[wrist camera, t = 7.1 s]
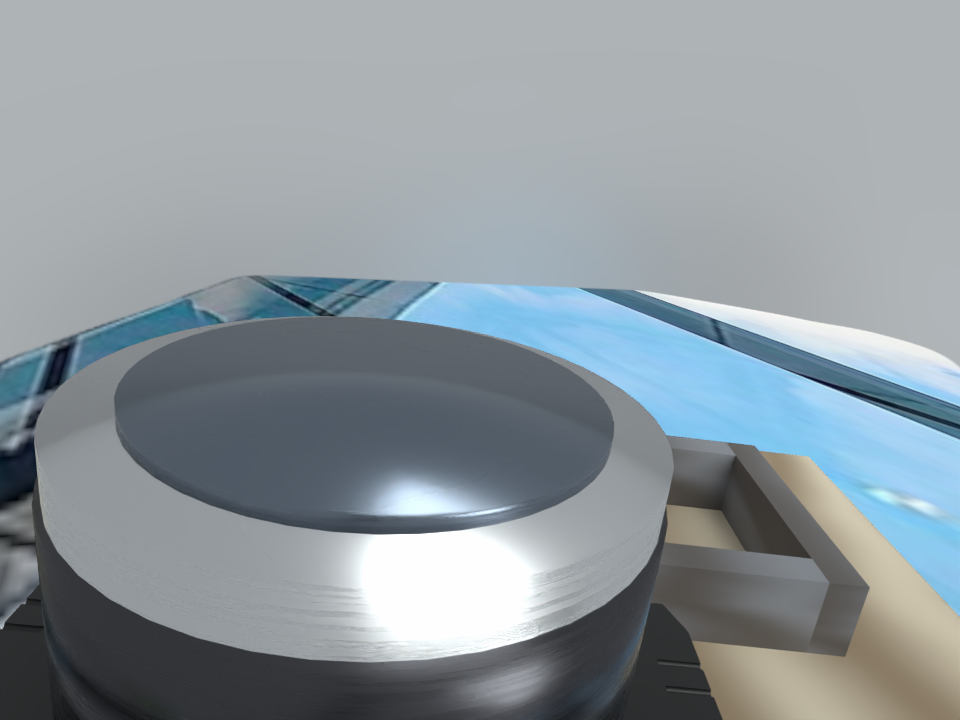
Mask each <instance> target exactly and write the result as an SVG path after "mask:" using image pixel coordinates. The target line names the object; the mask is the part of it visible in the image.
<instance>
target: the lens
mask: <svg viewBox="0 0 960 720" xmlns="http://www.w3.org/2000/svg"><path fill="white" fill-rule="evenodd" d="M34 443H35V453H36V464H37V475H38V476H37V479H36V481H35V486H34V493H33V500H32V511H33V521H34V531H35V541H36V552H37V562H38V572H39V582H40V592H41V603H42V613H43V623H44V633H45V643H46V654H47V664H48V674H49V684H50V694H51V705H52V715H53V720H624V716H625V712H626V708H627V703H628V699H629V695H630V690H631V686H632V682H633V677H634V673H635V669H636V664H637V660H638V656H639V651H640V647H641V643H642V638H643V634H644V630H645V625H646V621H647V617H648V612H649V608H650V604H651V599H652V595H653V591H654V586H655V582H656V578H657V573H658V569H659V564H660V560H661V556H662V551H663V547H664V542H665V537H666V531H667V526H668V521H667V509H666V503H667V499H668V494H669V490H670V485H671V480H672V475H673V470H674V463H673V455H672V449H671V447H670V444H669V442H668V439H667V437H666V434H665V433H664V431H663V430H662V428H661V427H660V425H659V424H658V423H657V421H656V420H655V418H654V417H653V416H652V415H651V414H650V413H649V412H648V411H647V410H646V409H645V408H644V407H643V406H642V405H641V404H640V403H639V402H637V401H636V400H635V399H634V398H632V397H631V396H630V395H628V394H627V393H626V392H625V391H623V390H622V389H620V388H619V387H617V386H615V385H614V384H612V383H611V382H609V381H607V380H606V379H604V378H602V377H600V376H599V375H597V374H595V373H593V372H591V371H589V370H587V369H585V368H583V367H581V366H579V365H576V364H574V363H572V362H569V361H567V360H565V359H562V358H560V357H557V356H555V355H552V354H549V353H546V352H544V351H541V350H538V349H535V348H532V347H529V346H526V345H522V344H519V343H516V342H513V341H509V340H505V339H501V338H497V337H493V336H489V335H485V334H481V333H476V332H471V331H466V330H462V329H456V328H450V327H444V326H439V325H433V324H425V323H417V322H410V321H401V320H390V319H379V318H362V317H331V316H312V317H282V318H266V319H255V320H246V321H236V322H229V323H222V324H216V325H209V326H204V327H199V328H194V329H189V330H184V331H179V332H175V333H171V334H168V335H164V336H160V337H157V338H153V339H149V340H147V341H144V342H141V343H138V344H135V345H132V346H129V347H126V348H124V349H121V350H119V351H117V352H115V353H112V354H110V355H108V356H106V357H103V358H101V359H99V360H98V361H96V362H94V363H92V364H91V365H89V366H87V367H85V368H84V369H82V370H80V371H79V372H77V373H76V374H75V375H74V376H72V377H71V378H70V379H68V380H67V381H66V382H65V383H63V384H62V385H61V386H60V387H59V388H58V389H57V390H56V391H55V393H54V394H53V395H52V396H51V397H50V398H49V399H48V400H47V402H46V404H45V406H44V408H43V409H42V411H41V413H40V415H39V417H38V419H37V425H36V431H35V437H34Z"/></svg>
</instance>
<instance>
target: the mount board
mask: <svg viewBox="0 0 960 720" xmlns="http://www.w3.org/2000/svg"><path fill="white" fill-rule="evenodd" d="M666 437H667V439H668V442H669V444H670V447H671V449H672V455H673V463H674V470H673V475H672V480H671V485H670V490H669V494H668V499H667V503H666V509H667V521H668V526H667V531H666V537H665V542H664V547H663V551H662V556H661V560H660V564H659V569H658V573H657V578H656V582H655V586H654V591H653V595H652V599H651V603H659V604H663V605H664V606H665V607H666V608H667V609H668V610H669V611H670V613H671V614H672V615H673V616H674V617H675V618H676V619H677V620H678V621H679V622H680V623H681V624H682V626H683V627H684V628H685V629H686V630H687V631H688V632H689V635H690V638H691V640H692V643H693V645H694V648H695V650H696V653H697V655H698V658H699V660H700V663H701V664H700V668H701V669H702V670H703V671H704V673H705V676H706V678H707V681H708V683H709V686H710V688H711V697H714V698H715V701H716V704H717V706H718V709H719V711H720V714H721V716H722V719H723V720H960V617H959V616H958V615H957V614H956V612H955V611H954V610H953V609H952V608H951V607H950V606H949V605H948V604H947V603H946V602H945V601H944V600H943V599H942V598H941V597H940V595H939V594H938V593H937V592H936V591H935V590H934V589H933V588H932V587H931V586H930V585H929V584H928V583H927V582H926V581H925V580H924V579H923V577H922V576H921V575H920V574H919V573H918V572H917V571H916V570H915V569H914V568H913V567H912V566H911V565H910V564H909V563H908V562H907V561H906V559H905V558H904V557H903V556H902V555H901V554H900V553H899V552H898V551H897V550H896V549H895V548H894V547H893V546H892V545H891V544H890V542H889V541H888V540H887V539H886V538H885V537H884V536H883V535H882V534H881V533H880V532H879V531H878V530H877V529H876V528H875V527H874V526H873V524H872V523H871V522H870V521H869V520H868V519H867V518H866V517H865V516H864V515H863V514H862V513H861V512H860V511H859V510H858V509H857V507H856V506H855V505H854V504H853V503H852V502H851V501H850V500H849V499H848V498H847V497H846V496H845V495H844V494H843V493H842V492H841V491H840V489H839V488H838V487H837V486H836V485H835V484H834V483H833V482H832V481H831V480H830V479H829V478H828V477H827V476H826V475H825V474H824V473H823V471H822V470H821V469H820V468H819V467H818V466H817V465H816V464H815V463H814V462H813V461H812V460H811V459H810V458H809V457H807V456H798V455H790V454H781V453H772V452H764V451H759V450H758V449H757V448H756V447H755V446H752V445H744V444H735V443H727V442H718V441H710V440H701V439H693V438H684V437H676V436H667V435H666Z"/></svg>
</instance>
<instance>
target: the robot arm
mask: <svg viewBox="0 0 960 720" xmlns="http://www.w3.org/2000/svg"><path fill="white" fill-rule="evenodd" d="M700 664H701V663H700V660H699V658H698V655H697V653H696V650H695V648H694V645H693V643H692V640H691V638H690V635H689V632H688V631H687V630H686V629H685V628H684V627H683V626H682V624H681V623H680V622H679V621H678V620H677V619H676V618H675V617H674V616H673V615H672V614H671V613H670V611H669V610H668V609H667V608H666V607H665V606H664V605H663V604H659V603H651V604H650V608H649V612H648V617H647V621H646V625H645V630H644V634H643V638H642V643H641V647H640V651H639V656H638V660H637V664H636V669H635V673H634V677H633V682H632V686H631V690H630V695H629V699H628V703H627V708H626V712H625V716H624V720H723V719H722V716H721V714H720V711H719V709H718V706H717V704H716V701H715V698H714V697H711V688H710V686H709V683H708V681H707V678H706V676H705V673H704V671H703V670H702V669H701V668H700ZM0 720H53V715H52V705H51V694H50V684H49V674H48V664H47V654H46V643H45V633H44V623H43V613H42V603H41V592H40V585H39V586H38V587H37V588H36V589H35V590H34V591H33V592H32V593H31V594H30V596H29V597H28V598H27V602H26V604H21V605H20V606H19V608H18V609H17V610H16V611H15V612H14V613H13V614H12V615H11V616H10V617H9V618H8V620H7V621H6V622H5V625H4V628H3V629H0Z"/></svg>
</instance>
